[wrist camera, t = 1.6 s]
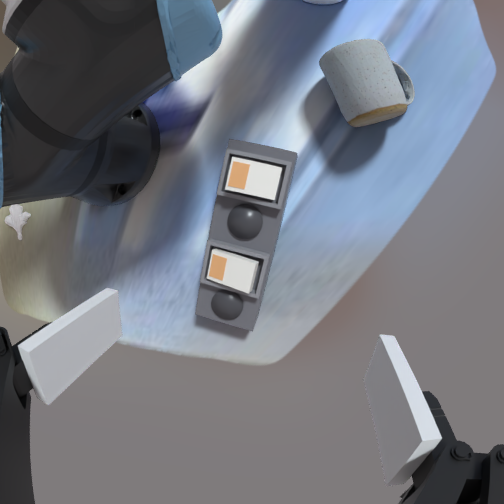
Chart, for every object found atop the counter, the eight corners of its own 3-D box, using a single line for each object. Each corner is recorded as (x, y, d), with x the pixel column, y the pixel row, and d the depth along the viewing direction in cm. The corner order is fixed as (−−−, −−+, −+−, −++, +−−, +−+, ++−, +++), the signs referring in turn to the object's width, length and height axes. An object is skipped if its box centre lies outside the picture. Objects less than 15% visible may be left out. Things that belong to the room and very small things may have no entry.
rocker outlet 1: (225, 188, 28) (225, 189, 27) (232, 157, 27) (232, 156, 26) (273, 199, 28) (274, 200, 27) (281, 167, 27) (282, 167, 26)
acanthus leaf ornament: (8, 220, 41) (2, 222, 39) (16, 191, 39) (9, 192, 38) (24, 243, 41) (17, 245, 39) (33, 214, 39) (25, 215, 38)
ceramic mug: (343, 135, 29) (357, 120, 22) (315, 73, 28) (320, 43, 20) (420, 114, 27) (449, 99, 19) (392, 56, 25) (413, 29, 18)
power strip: (204, 303, 36) (192, 318, 32) (236, 143, 31) (226, 137, 27) (257, 318, 36) (251, 336, 31) (297, 156, 30) (296, 151, 26)
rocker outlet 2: (211, 276, 31) (206, 278, 30) (216, 248, 30) (211, 249, 29) (252, 290, 30) (248, 293, 29) (259, 261, 29) (255, 263, 28)
